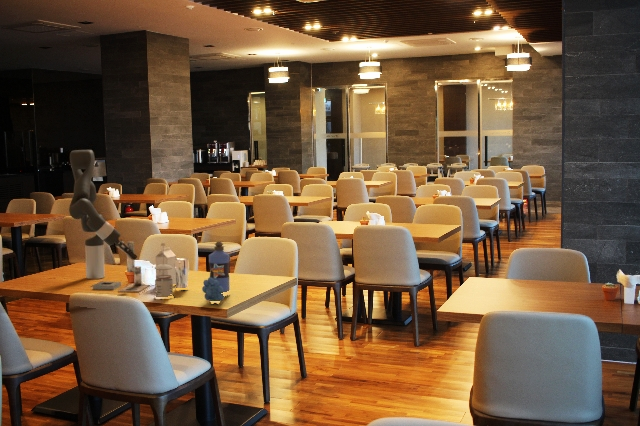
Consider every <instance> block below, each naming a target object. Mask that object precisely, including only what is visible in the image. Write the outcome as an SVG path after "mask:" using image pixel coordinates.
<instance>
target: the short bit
mask: <svg viewBox="0 0 640 426" xmlns="http://www.w3.org/2000/svg"><path fill="white" fill-rule="evenodd" d="M133 274H134V275H133V279H134V280H133V284H134V286H142V284H143V282H142V279H143V277H142V266H135V272H133Z"/></svg>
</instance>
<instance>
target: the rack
mask: <svg viewBox="0 0 640 426" xmlns="http://www.w3.org/2000/svg"><path fill="white" fill-rule="evenodd" d="M145 284H146V283H142V286H134V283H129V284H128V285H126V286H125V287H122V288H120V290H118V291H117V293H132V294H134V293H136V294H137V293H138V294H140V293H141V292H143V291H145V290H146V289H148V288H149V287H151V286H150V285H145Z"/></svg>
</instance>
